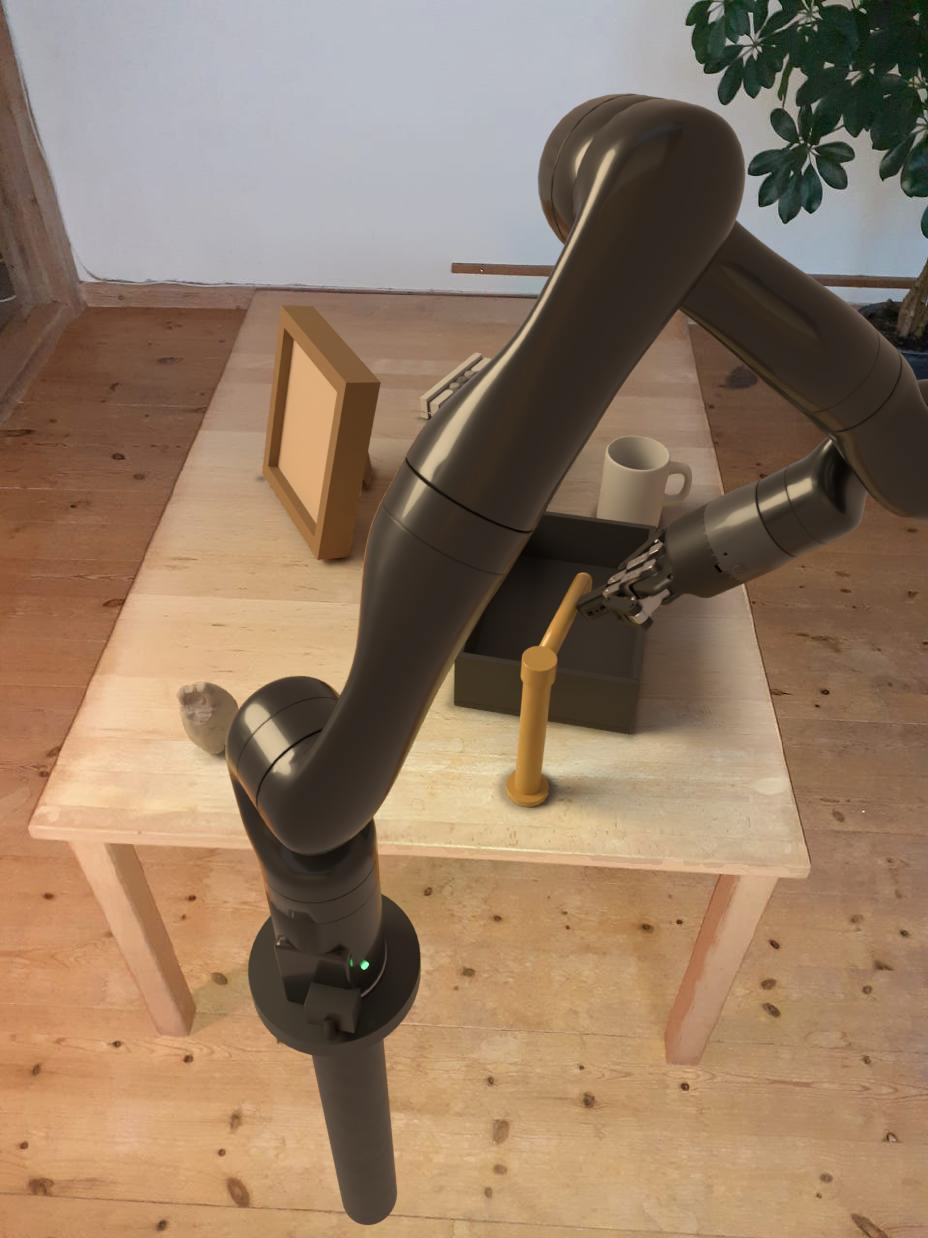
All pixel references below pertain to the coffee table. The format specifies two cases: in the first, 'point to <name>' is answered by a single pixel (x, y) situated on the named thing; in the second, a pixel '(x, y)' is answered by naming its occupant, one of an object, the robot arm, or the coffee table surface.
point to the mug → (639, 481)
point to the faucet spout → (553, 638)
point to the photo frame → (319, 430)
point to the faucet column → (530, 750)
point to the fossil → (207, 714)
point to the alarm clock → (451, 384)
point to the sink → (523, 610)
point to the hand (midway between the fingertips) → (583, 609)
